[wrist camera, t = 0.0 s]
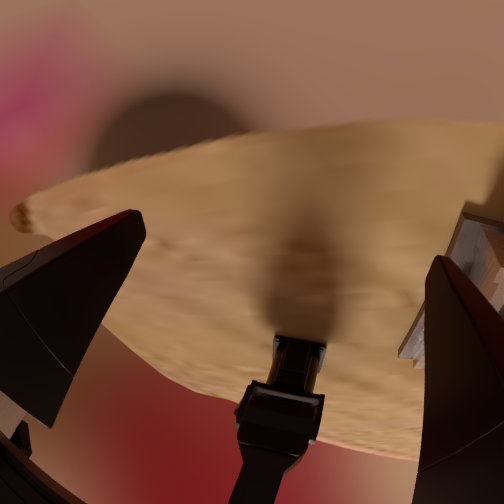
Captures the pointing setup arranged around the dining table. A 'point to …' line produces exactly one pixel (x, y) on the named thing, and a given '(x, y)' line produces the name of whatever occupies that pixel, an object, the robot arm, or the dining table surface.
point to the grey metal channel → (467, 273)
